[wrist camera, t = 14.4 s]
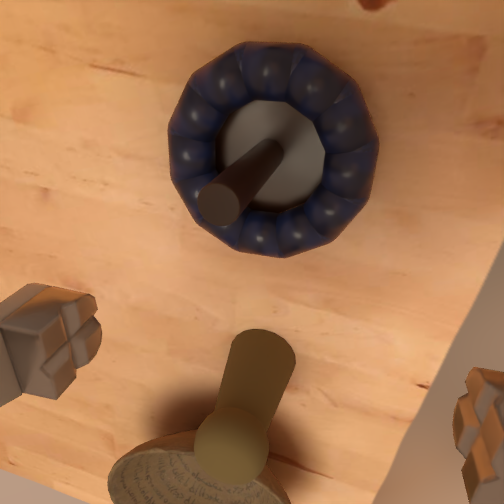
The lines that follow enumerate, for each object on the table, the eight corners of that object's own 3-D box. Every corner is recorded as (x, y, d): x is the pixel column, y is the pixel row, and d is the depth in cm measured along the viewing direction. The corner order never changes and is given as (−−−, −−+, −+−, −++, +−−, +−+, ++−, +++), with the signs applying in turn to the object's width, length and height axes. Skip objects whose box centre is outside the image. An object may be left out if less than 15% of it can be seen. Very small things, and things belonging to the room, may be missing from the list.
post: (196, 122, 27) (102, 159, 17) (300, 62, 23) (255, 68, 14) (248, 222, 29) (191, 302, 20) (350, 180, 26) (340, 253, 16)
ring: (146, 107, 26) (122, 113, 24) (325, -6, 21) (318, -15, 18) (235, 266, 30) (223, 286, 27) (405, 206, 25) (410, 223, 22)
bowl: (298, 518, 44) (285, 603, 37) (152, 473, 48) (116, 543, 41) (320, 406, 36) (308, 490, 29) (140, 362, 39) (92, 427, 32)
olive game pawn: (230, 323, 34) (178, 427, 24) (298, 336, 33) (270, 451, 23) (230, 373, 37) (182, 484, 27) (292, 388, 35) (265, 509, 26)
